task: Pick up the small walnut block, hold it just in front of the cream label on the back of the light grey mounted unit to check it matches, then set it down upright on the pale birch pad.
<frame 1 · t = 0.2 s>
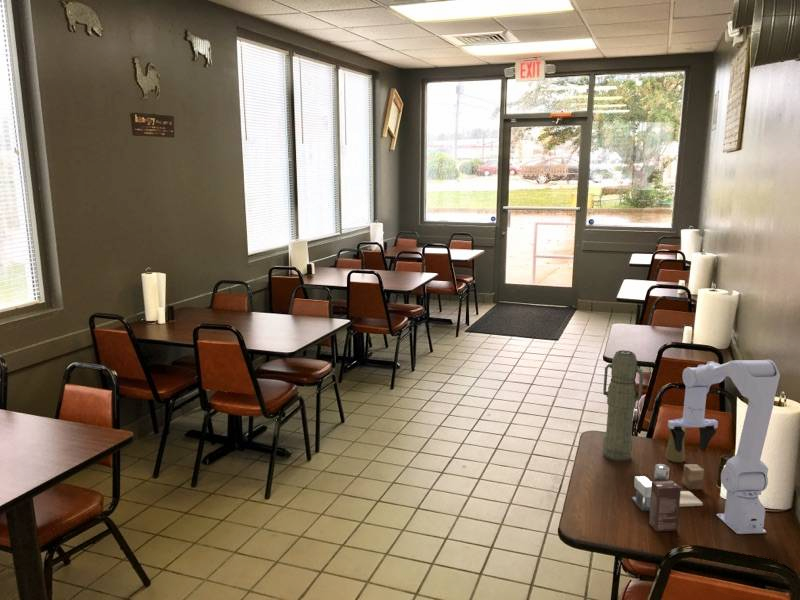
hand: (690, 450, 192), 10 cm above the table, tool pointing down, fingers open, 7 cm apart
walnut block: (692, 486, 190), on the table
box: (662, 527, 167), on the table
round canister: (661, 479, 194), on the table
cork: (674, 458, 209), on the table
mounted unit: (643, 505, 178), on the table
green thermos bottle: (617, 456, 210), on the table
birch pad: (683, 499, 181), on the table
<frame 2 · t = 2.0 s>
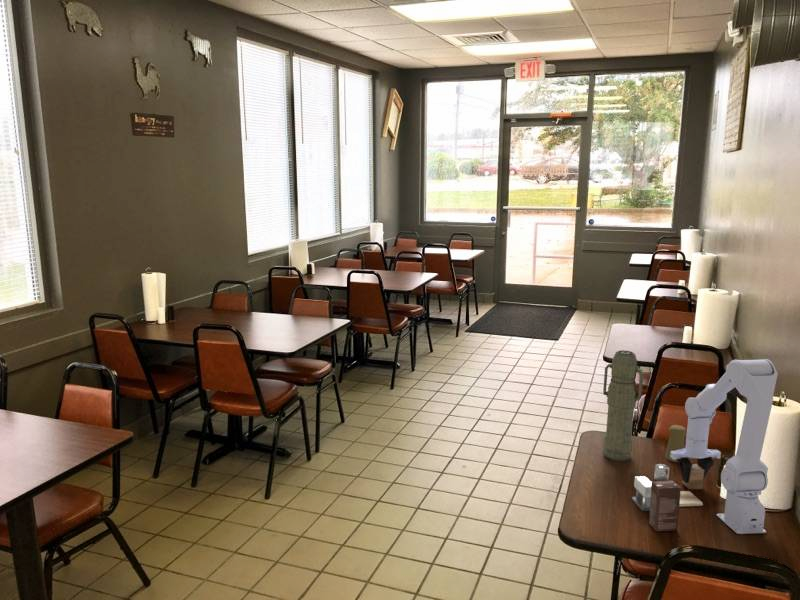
hand: (692, 480, 189), 2 cm above the table, tool pointing down, fingers closed on walnut block, 4 cm apart
walnut block: (692, 486, 190), on the table, touching gripper
everything else where it was.
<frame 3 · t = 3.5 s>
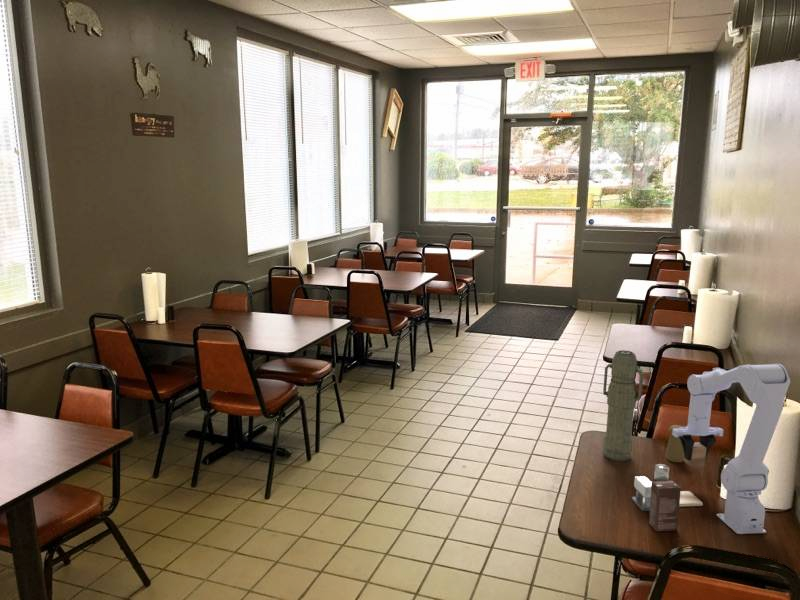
hand: (694, 458, 188), 9 cm above the table, tool pointing down, fingers closed on walnut block, 4 cm apart
walnut block: (694, 464, 188), point 7 cm above the table, touching gripper
everything else where it was.
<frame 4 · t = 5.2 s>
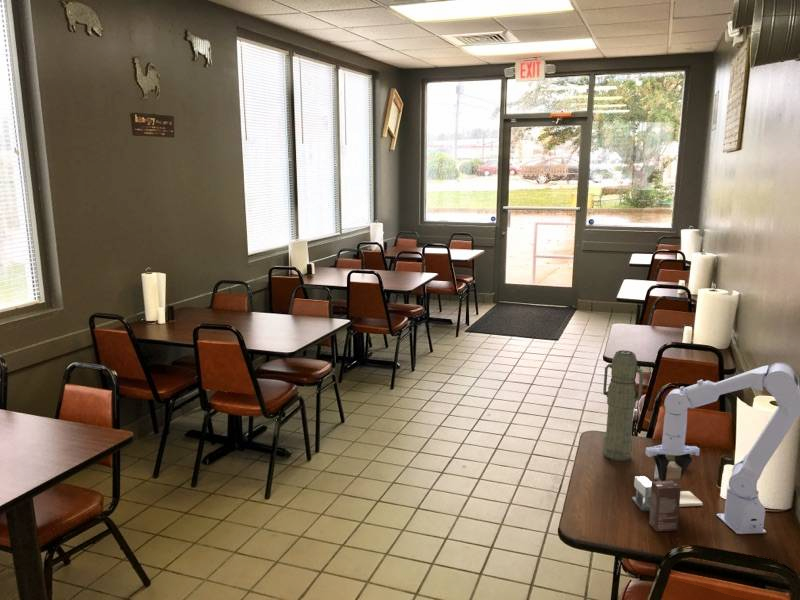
hand: (669, 479, 177), 7 cm above the table, tool pointing down, fingers closed on walnut block, 4 cm apart
walnut block: (668, 485, 178), point 6 cm above the table, touching gripper
everything else where it was.
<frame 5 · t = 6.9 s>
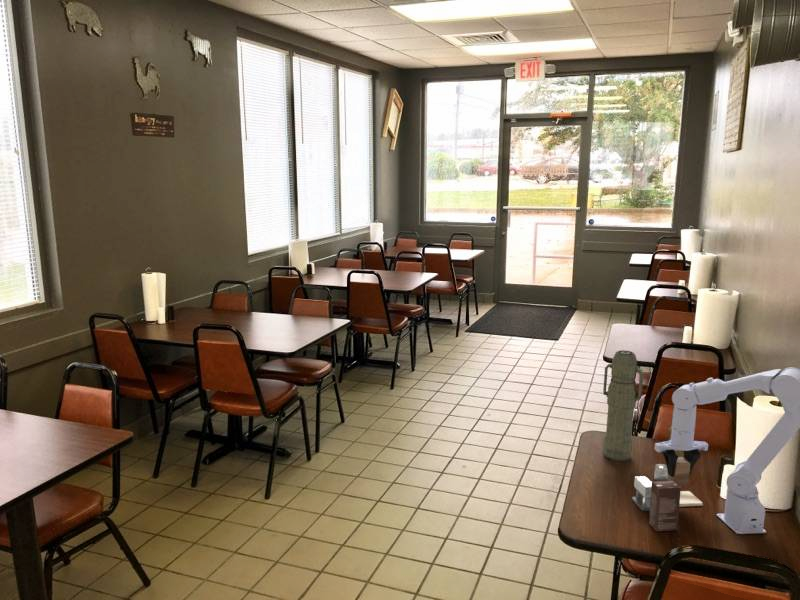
hand: (678, 474, 178), 8 cm above the table, tool pointing down, fingers closed on walnut block, 4 cm apart
walnut block: (677, 480, 178), point 7 cm above the table, touching gripper
everything else where it was.
when the fingers open (3 cm above the table, at t = 8.6 s): walnut block stays where it is, resting on birch pad.
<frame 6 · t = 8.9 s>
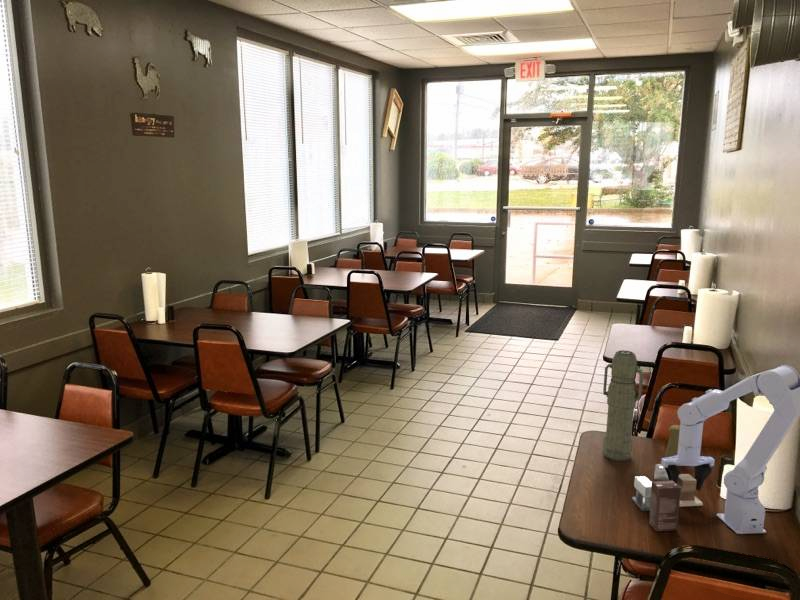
hand: (685, 489, 180), 3 cm above the table, tool pointing down, fingers open, 7 cm apart
walnut block: (683, 497, 181), point 1 cm above the table, touching birch pad
everything else where it was.
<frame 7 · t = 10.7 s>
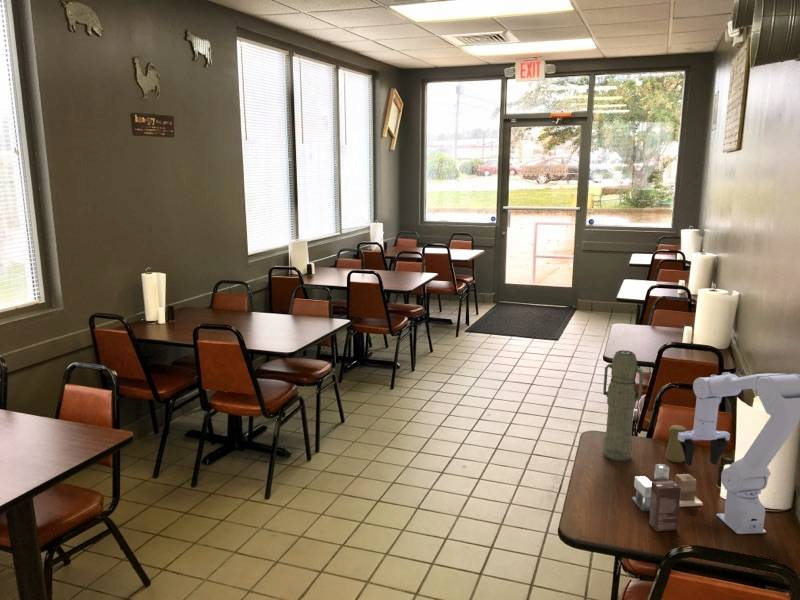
hand: (700, 463, 183), 9 cm above the table, tool pointing down, fingers open, 7 cm apart
nothing on the table moved.
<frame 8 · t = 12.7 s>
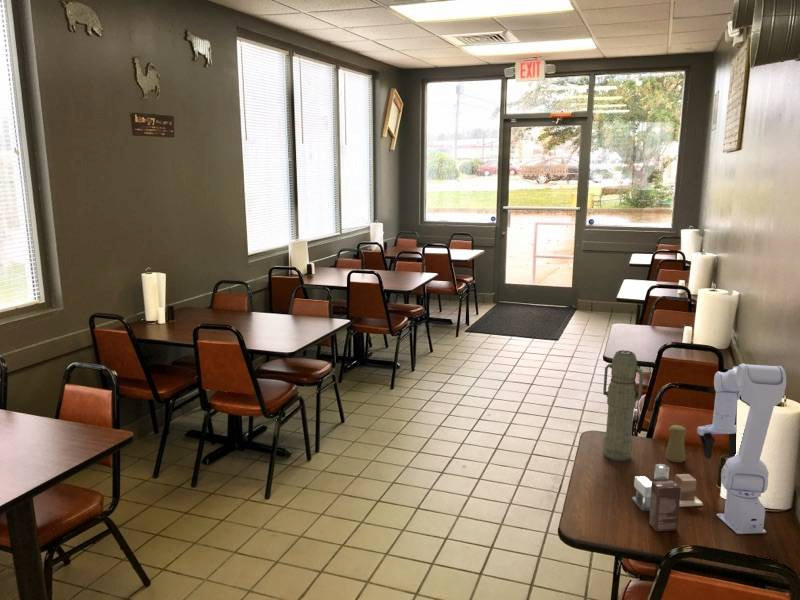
hand: (719, 457, 188), 9 cm above the table, tool pointing down, fingers open, 7 cm apart
nothing on the table moved.
at the end: walnut block 0.1 cm off-centre on the birch pad, point 0.8 cm above the birch pad's base; walnut block tilted 0°; the gripper is holding nothing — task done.
